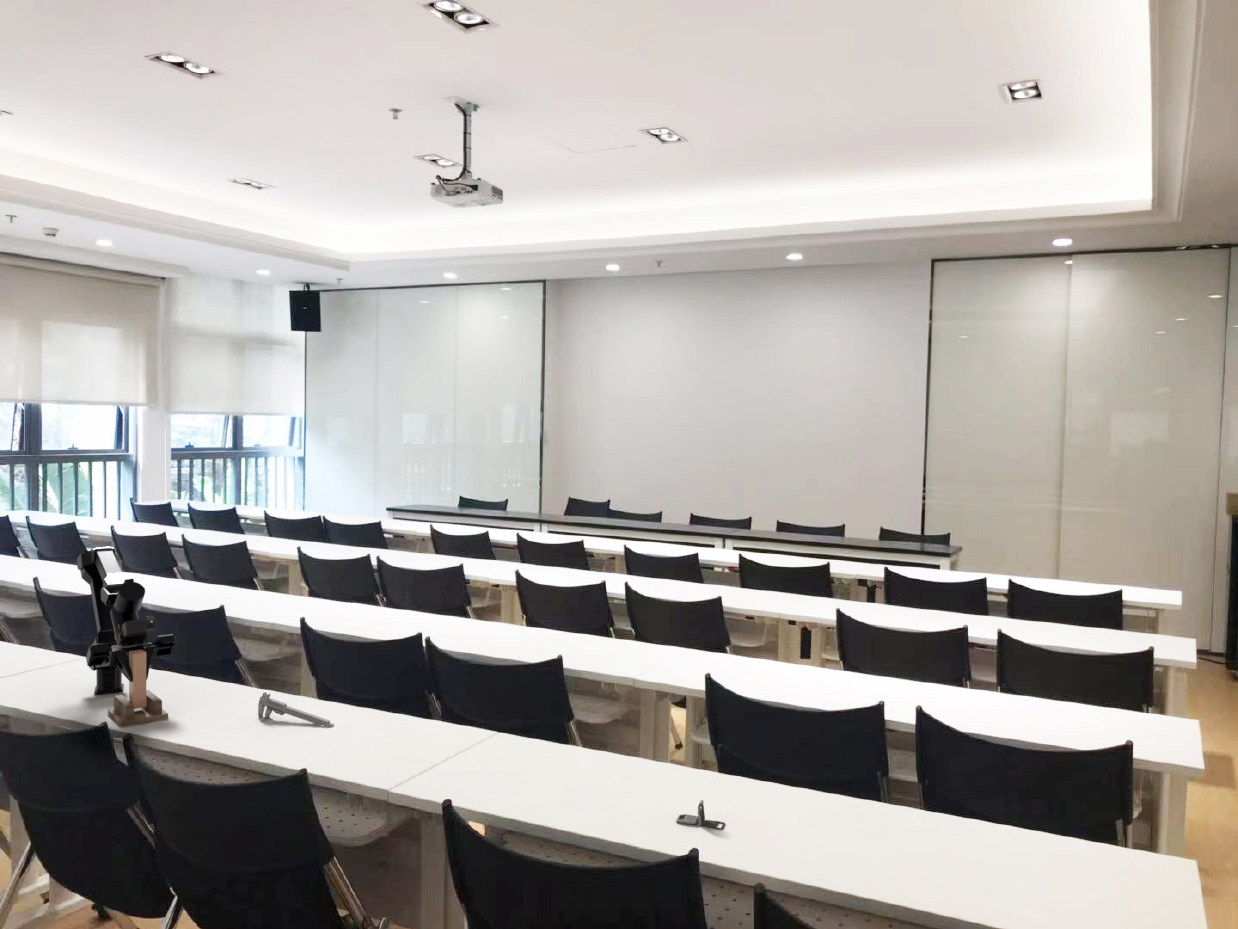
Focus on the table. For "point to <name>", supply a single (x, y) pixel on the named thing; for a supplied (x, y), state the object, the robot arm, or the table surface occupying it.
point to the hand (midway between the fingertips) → (139, 680)
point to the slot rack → (137, 710)
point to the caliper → (287, 711)
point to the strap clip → (699, 819)
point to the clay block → (137, 678)
